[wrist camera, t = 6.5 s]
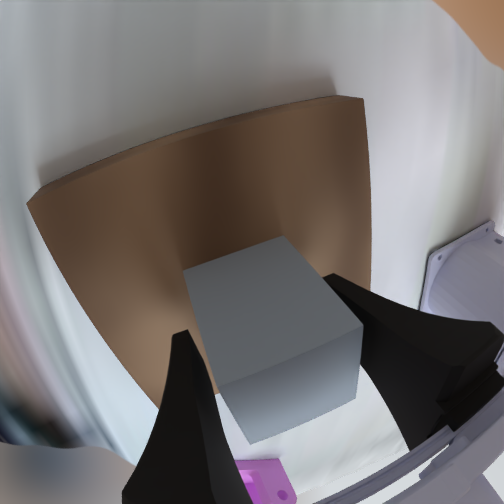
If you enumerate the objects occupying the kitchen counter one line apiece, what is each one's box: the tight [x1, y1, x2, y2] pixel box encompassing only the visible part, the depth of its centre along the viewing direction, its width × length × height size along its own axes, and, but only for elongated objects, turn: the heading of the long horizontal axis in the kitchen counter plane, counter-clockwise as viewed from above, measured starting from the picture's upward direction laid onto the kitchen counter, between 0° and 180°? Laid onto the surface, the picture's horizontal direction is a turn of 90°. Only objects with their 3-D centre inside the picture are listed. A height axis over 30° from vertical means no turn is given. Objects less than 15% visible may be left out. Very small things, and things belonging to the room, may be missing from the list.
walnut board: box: [26, 95, 372, 409], centre depth 15 cm, size 14×14×2 cm
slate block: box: [183, 235, 363, 445], centre depth 12 cm, size 4×4×6 cm
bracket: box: [235, 459, 297, 504], centre depth 25 cm, size 13×6×7 cm, turn 56°
